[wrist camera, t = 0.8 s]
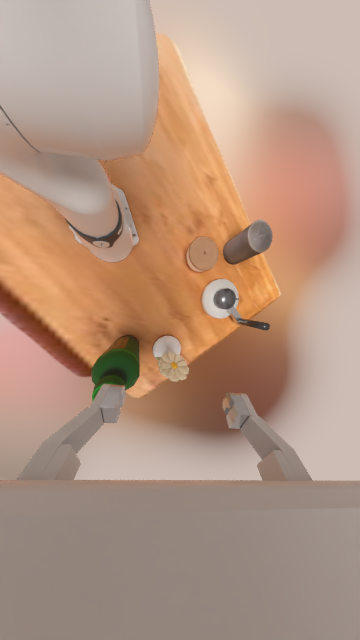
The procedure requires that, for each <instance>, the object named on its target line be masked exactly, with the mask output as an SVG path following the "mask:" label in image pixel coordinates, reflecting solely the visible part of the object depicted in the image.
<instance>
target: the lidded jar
mask: <svg viewBox="0 0 360 640" xmlns="http://www.w3.org/2000/svg"><path fill="white" fill-rule="evenodd" d="M186 259H187V263H188V265H189V267H190V268H191V269H193V270H194V271H197V272H203V271H206V270H209V269H211V268H212V267H214V266H215V264H216V263H217V260H218V248H217V246H216V244H215V242H214V241H213V240H212V239H210V238H208V237H205V236H201V237H198V238H196V239H195V240H194V241H193V242H192V243H191V245H190V247H189V249H188V251H187V256H186Z"/></svg>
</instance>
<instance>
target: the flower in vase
mask: <svg viewBox="0 0 360 640" xmlns="http://www.w3.org/2000/svg"><path fill="white" fill-rule="evenodd" d="M180 352H181V345H180V342H179V341H178V339H176V338H175V337H173V336H163V337H161V338H159V339H158V340H157V341H156V342H155V343H154V346H153V355H154V357H155V359H156V360H158V361H159V362H158V366H160V367H159V369H160V370H161V371H160V373H161V374H163V375H164V376H165V377H166V378H170V380H171V381H178V379H179V380H183V379H186V374H188V371H189V368H188V367H187V362H186V361H185V360H184V358H183V357H180Z"/></svg>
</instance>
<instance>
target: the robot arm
mask: <svg viewBox="0 0 360 640" xmlns="http://www.w3.org/2000/svg"><path fill="white" fill-rule="evenodd" d="M158 102H159V62H158V51H157V41H156V34H155V28H154V21H153V15H152V10H151V6H150V1H149V0H0V174H1V175H2V176H4V177H6V178H8V179H10V180H11V181H13V182H15V183H17V184H18V185H20V186H22V187H24V188H25V189H27V190H29V191H30V192H32V193H34V194H35V195H37V196H39V197H40V198H42V199H43V200H45V201H46V202H48V203H49V204H50V205H51V206H53V207H54V208H55V209H56V210H57V211H58V212H59V213H60V214H61V215H62V216H63V217H64V218H65V220H66V221H67V223H68V224H69V228H70V229H71V230H72V232H73V233H74V237H75V239H76V241H77V242H79V243H80V244H82V245H83V246H85V247H87V248H88V249H89V251H90V252H91V253H92V254H93V255H94V256H96V257H97V258H99V259H101V260H103V261H106V262H119V261H121V260H123V259H125V258H126V257H127V256H128V255H129V254H130V252H131V250H132V248H133V247H134V246H135V245H137V244H138V243H139V237H138V234H137V231H136V228H135V225H134V222H133V218H132V215H131V212H130V209H129V206H128V203H127V200H126V197H125V194H124V192H123V191H122V190H120V189H119V188H117V187H115V186H114V185H113V184H112V183H110V180H109V176H108V175H107V174H106V172H105V170H104V168H103V167H102V165H101V164H100V162H99V161H98V160H105V161H109V160H116V159H123V158H129V157H133V156H138V155H142V154H143V153H144V151H145V150H146V148H147V146H148V144H149V142H150V140H151V137H152V134H153V131H154V127H155V123H156V118H157V111H158ZM126 209H127V210H126ZM133 235H135V237H134V236H133ZM124 390H125V385H112V384H103V385H102V386H101V388H100V390H99V392H98V393H97V395H96V397H95V399H94V400H93V402H92V404H91V406H90V407H88V408H86V409H84V410H83V411H82V412H81V413H79V414H78V415H77V416H76V417H74V418H73V419H72V420H71V421H69V422H68V423H67V424H66V425H64V426H63V427H62V428H61V429H59V430H58V431H57V432H55V433H54V434H53V435H52V436H50V437H49V438H48V439H47V440H45V441H44V442H43V443H42V444H41V446H40V447H39V449H38V450H37V451H36V453H35V454H34V456H33V457H32V459H31V460H30V461H29V463H28V464H27V465H26V467H25V469H24V470H23V471H22V473H21V474H20V475H19V477H18V478H17V480H0V640H360V481H313V480H312V479H311V477H310V475H309V474H308V472H307V470H306V469H305V467H304V466H303V464H302V462H301V460H300V459H299V457H298V456H297V454H296V452H295V451H294V449H293V448H292V447H290V445H288V444H287V443H286V442H285V441H284V440H283V439H282V438H281V437H280V436H279V435H278V434H277V433H276V432H275V431H274V430H273V429H272V428H271V427H270V426H269V425H268V424H267V423H266V422H265V421H264V420H263V419H262V418H260V417H258V416H257V414H256V412H255V410H254V408H253V406H252V404H251V402H250V400H249V398H248V396H247V395H246V394H239V393H227V394H226V398H225V399H224V400H223V409H224V412H225V413H226V414H227V417H226V419H227V422H228V425H229V428H236V429H240V430H241V432H242V433H243V434H244V436H245V437H246V438H247V440H248V441H249V442H250V444H251V445H252V446H253V448H254V449H255V450H256V452H257V453H258V455H259V456H260V457H261V459H262V461H261V462H260V463H258V465H257V467H258V469H259V472H260V475H261V477H262V480H263V481H226V480H223V481H222V480H221V481H220V480H218V481H217V480H213V481H212V480H211V481H210V480H199V481H198V480H196V481H195V480H192V481H191V480H74V477H75V475H76V473H77V471H78V468H79V466H80V460H79V458H78V457H77V455H76V454H77V452H78V451H79V450H80V449H81V448H82V447H83V446H84V445H85V444H86V443H87V441H88V440H89V439H90V438H91V437H92V436H93V435H94V434H95V433H96V432H97V430H98V429H99V428H100V427H101V426H102V425H103V423H117V421H118V417H119V415H120V408H121V407H122V406H123V403H124V400H125V395H126V393H125V391H124Z"/></svg>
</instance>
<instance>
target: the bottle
mask: <svg viewBox="0 0 360 640" xmlns="http://www.w3.org/2000/svg"><path fill="white" fill-rule="evenodd" d="M91 370H92V381H93V383H94V384H95V387H94V391H93V395H92V399H93V400H94V399H95V397H96V395H97V393H98V392H99V390H100V388H101V386H102V385H103V384H112V385H125V390H127V389H129V388H130V387H132V386H134V384H135V382H136V381H137V379H138V378H139V342H138V341H137V339H136V338H134V337H132V336H123V337H121V338H119V339H118V340H117V341H116V342H115V343H114V344H113V345H112V346H111V347H110V348H109V349H108V350H106V351H105V352H104V353H103V354H102V355H101V356H100V357H99V358H98V360H97V361H96V363H95V364H94V366H93V368H92V369H91ZM125 390H124V391H125Z"/></svg>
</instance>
